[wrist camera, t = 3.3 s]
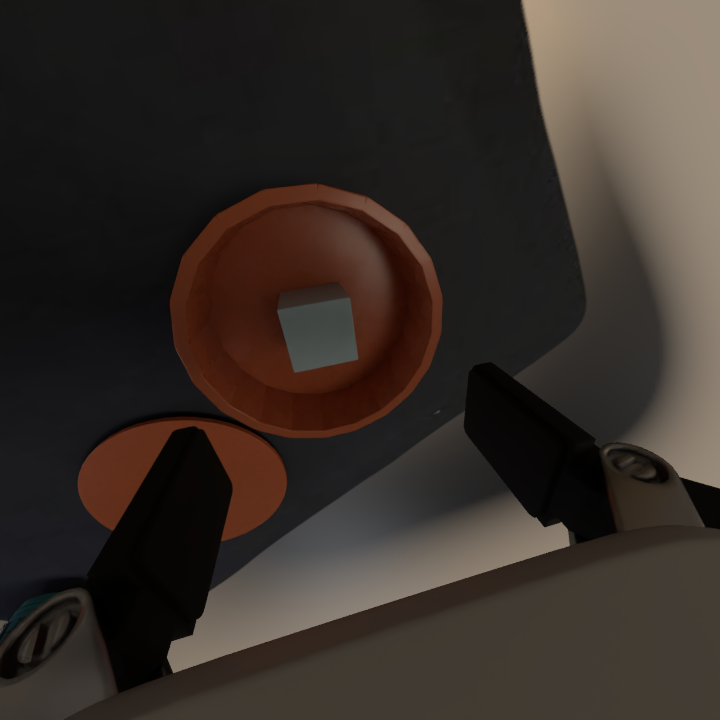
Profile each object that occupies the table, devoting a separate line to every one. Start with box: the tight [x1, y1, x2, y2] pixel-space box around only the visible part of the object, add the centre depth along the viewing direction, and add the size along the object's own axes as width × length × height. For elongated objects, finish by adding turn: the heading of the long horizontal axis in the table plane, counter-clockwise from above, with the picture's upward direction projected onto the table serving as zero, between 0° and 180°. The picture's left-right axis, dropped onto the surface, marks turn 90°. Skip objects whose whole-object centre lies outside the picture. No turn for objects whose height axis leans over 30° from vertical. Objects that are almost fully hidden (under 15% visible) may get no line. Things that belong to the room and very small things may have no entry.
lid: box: [78, 417, 287, 541], centre depth 22 cm, size 16×16×7 cm
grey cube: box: [277, 282, 358, 373], centre depth 18 cm, size 4×4×4 cm
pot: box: [170, 183, 442, 438], centre depth 18 cm, size 15×15×5 cm
